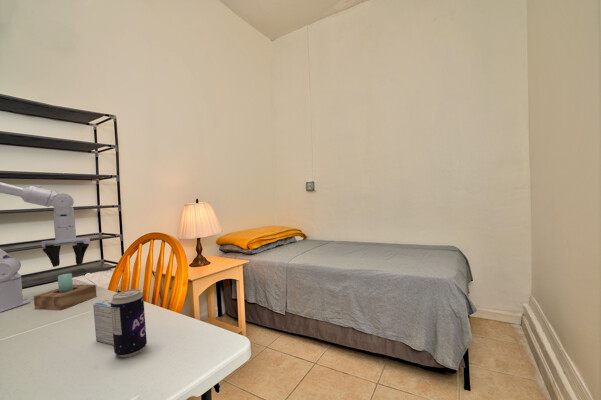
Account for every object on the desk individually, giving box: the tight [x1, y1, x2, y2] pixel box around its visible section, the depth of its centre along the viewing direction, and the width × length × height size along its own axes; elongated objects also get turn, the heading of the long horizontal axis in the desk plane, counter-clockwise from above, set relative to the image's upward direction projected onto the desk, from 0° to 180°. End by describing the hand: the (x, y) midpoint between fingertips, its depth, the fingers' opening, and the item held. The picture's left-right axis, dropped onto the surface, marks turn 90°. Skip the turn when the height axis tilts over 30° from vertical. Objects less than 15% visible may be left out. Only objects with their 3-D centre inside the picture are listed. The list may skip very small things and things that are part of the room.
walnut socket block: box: [33, 284, 97, 311], centre depth 90 cm, size 11×11×4 cm
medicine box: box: [93, 296, 114, 346], centre depth 63 cm, size 8×4×9 cm, turn 65°
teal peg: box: [57, 272, 74, 293], centre depth 90 cm, size 4×4×8 cm
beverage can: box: [111, 288, 148, 358], centre depth 57 cm, size 6×6×12 cm
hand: (67, 265), depth 99 cm, fingers open, 7 cm apart
